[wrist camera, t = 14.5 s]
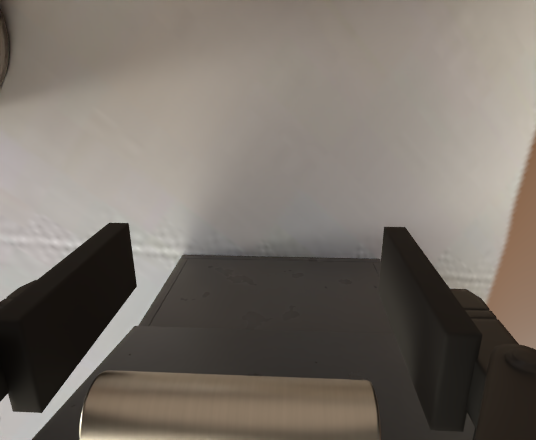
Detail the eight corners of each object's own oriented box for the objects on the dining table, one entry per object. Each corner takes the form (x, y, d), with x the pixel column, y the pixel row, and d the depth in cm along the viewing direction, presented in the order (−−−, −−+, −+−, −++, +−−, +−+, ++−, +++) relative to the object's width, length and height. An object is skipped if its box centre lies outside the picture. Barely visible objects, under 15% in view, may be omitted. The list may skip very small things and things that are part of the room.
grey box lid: (738, 856, 8) (840, 487, 7) (-227, 755, 10) (-315, 428, 8) (416, 344, 31) (424, 230, 29) (135, 335, 32) (129, 225, 31)
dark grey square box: (365, 414, 52) (388, 530, 38) (195, 407, 53) (162, 516, 40) (379, 258, 44) (415, 335, 31) (182, 254, 46) (137, 327, 32)
